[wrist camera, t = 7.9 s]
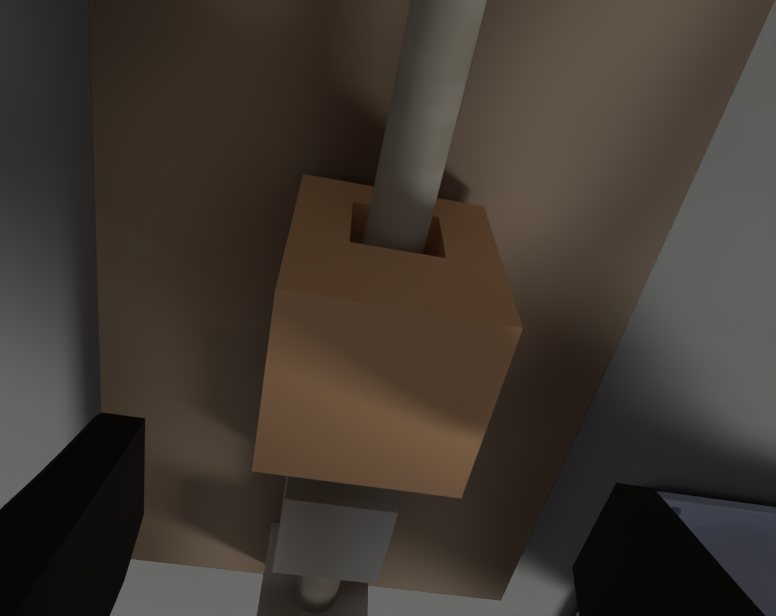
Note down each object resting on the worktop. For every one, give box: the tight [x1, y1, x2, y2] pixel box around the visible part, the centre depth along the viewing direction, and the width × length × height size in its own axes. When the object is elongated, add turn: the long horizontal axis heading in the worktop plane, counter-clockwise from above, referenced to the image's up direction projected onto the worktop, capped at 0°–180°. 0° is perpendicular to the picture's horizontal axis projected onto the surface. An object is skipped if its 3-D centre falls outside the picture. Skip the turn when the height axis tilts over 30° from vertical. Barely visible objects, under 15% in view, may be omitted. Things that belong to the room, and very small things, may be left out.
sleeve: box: [252, 174, 523, 498], centre depth 14 cm, size 4×4×5 cm
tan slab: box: [89, 0, 775, 616], centre depth 14 cm, size 13×28×5 cm, turn 169°
